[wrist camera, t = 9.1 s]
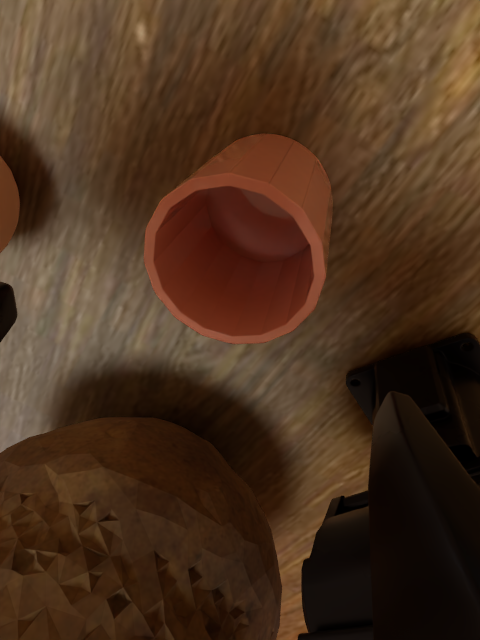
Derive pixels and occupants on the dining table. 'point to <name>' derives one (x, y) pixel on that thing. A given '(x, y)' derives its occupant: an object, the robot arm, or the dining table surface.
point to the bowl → (131, 538)
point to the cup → (244, 241)
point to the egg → (7, 204)
